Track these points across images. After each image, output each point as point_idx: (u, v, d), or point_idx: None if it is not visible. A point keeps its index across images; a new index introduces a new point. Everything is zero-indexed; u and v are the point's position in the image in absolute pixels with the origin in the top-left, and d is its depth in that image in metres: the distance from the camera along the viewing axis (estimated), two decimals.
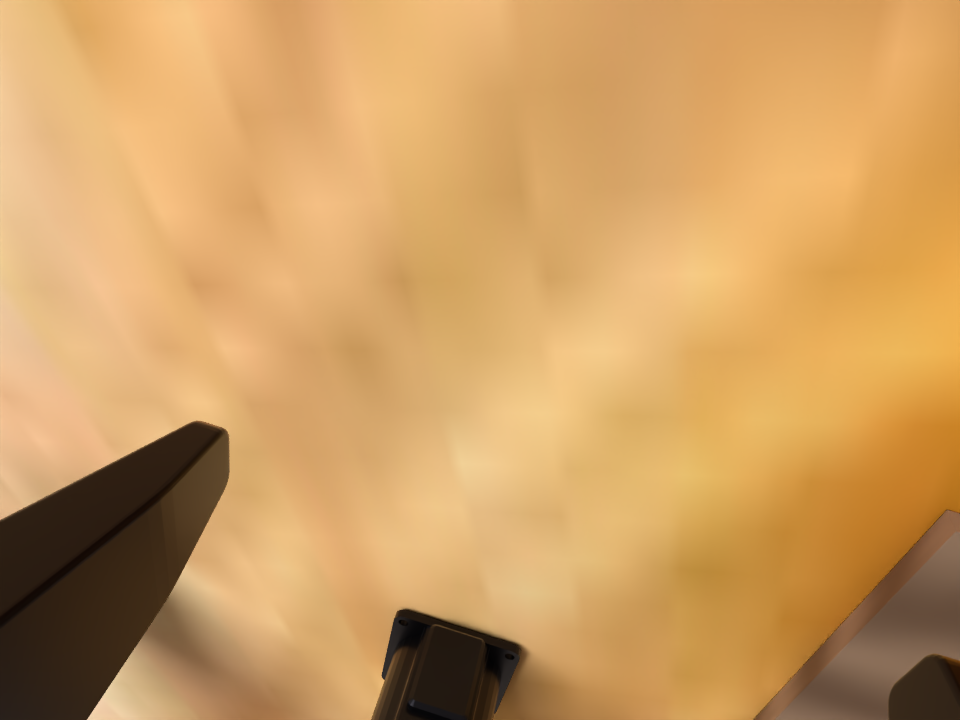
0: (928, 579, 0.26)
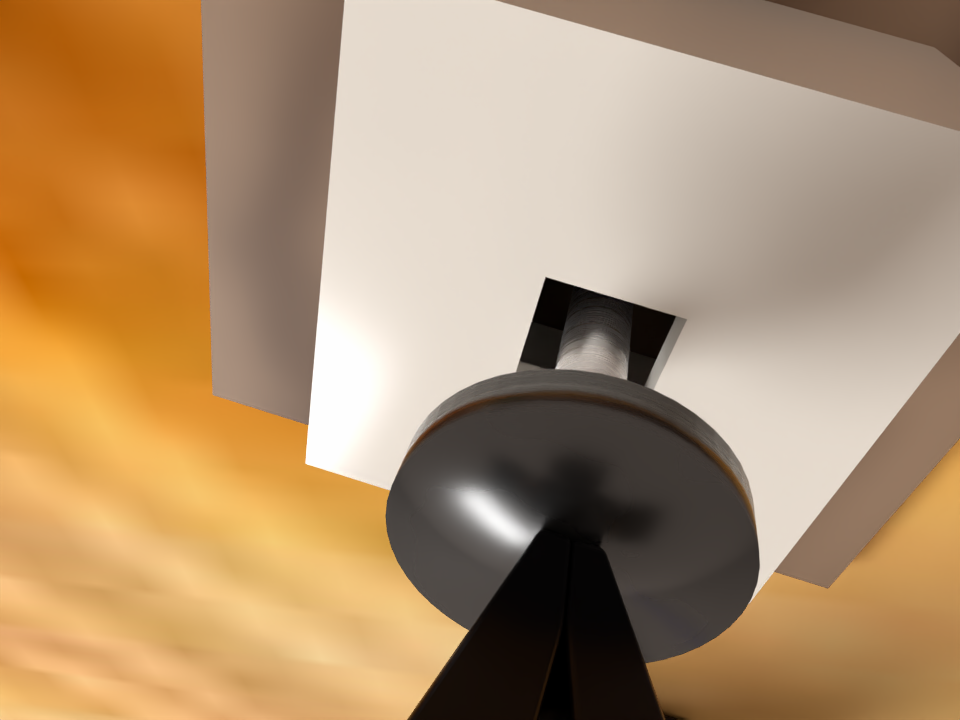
0: (281, 405, 0.25)
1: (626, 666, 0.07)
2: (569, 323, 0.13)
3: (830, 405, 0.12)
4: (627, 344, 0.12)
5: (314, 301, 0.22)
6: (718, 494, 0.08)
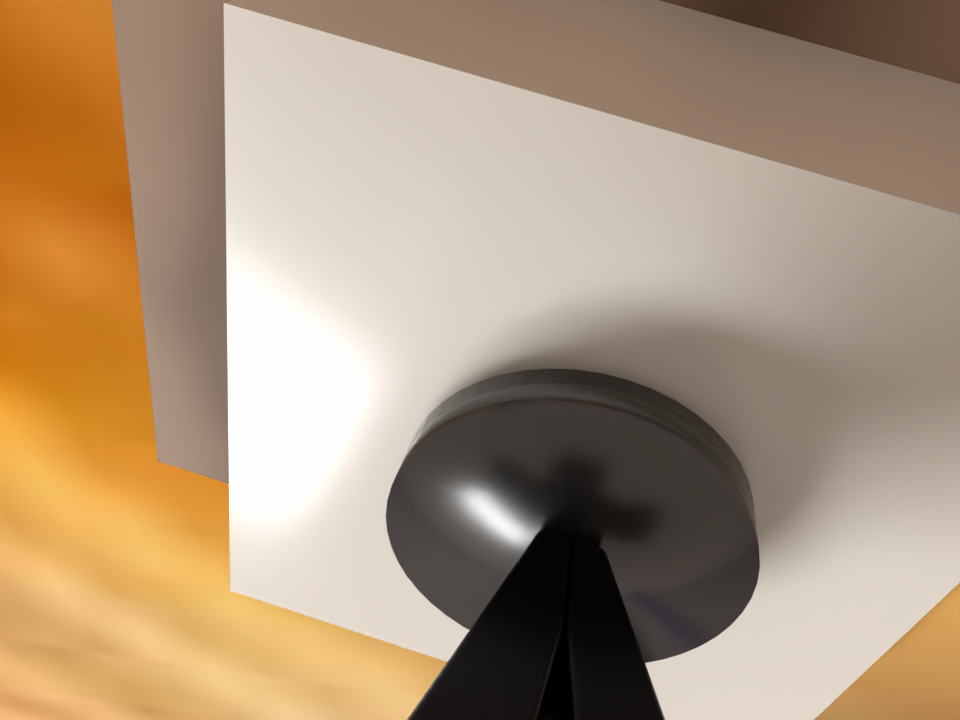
0: None
1: (626, 666, 0.07)
2: None
3: (875, 566, 0.09)
4: None
5: None
6: (718, 494, 0.08)
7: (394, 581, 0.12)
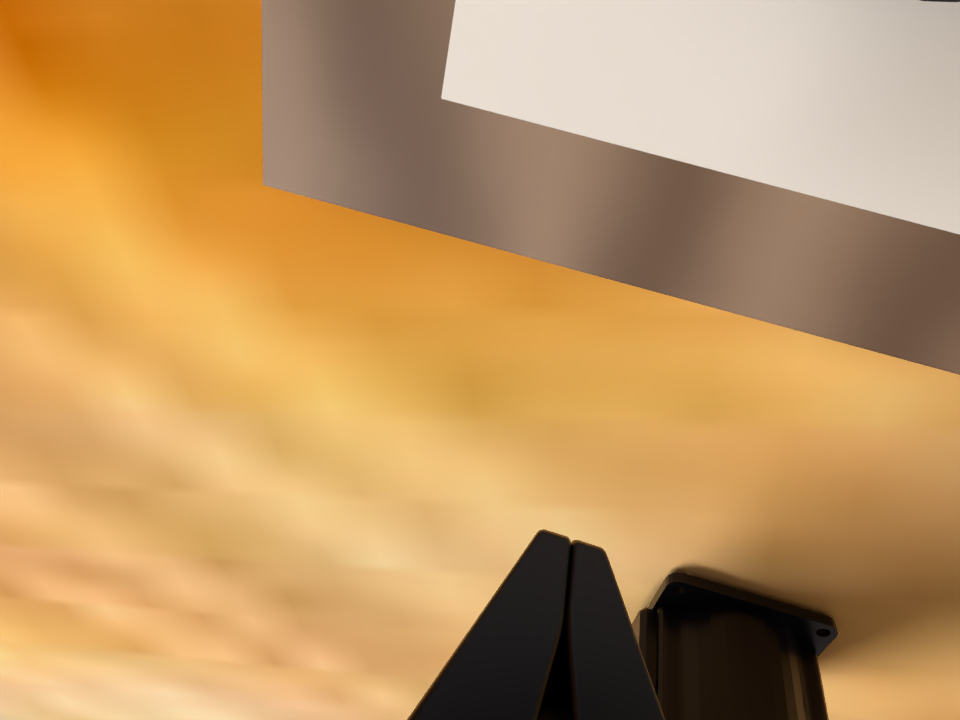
0: (351, 191, 0.19)
1: (626, 666, 0.07)
2: None
3: None
4: None
5: (402, 15, 0.16)
6: None
7: (677, 15, 0.09)
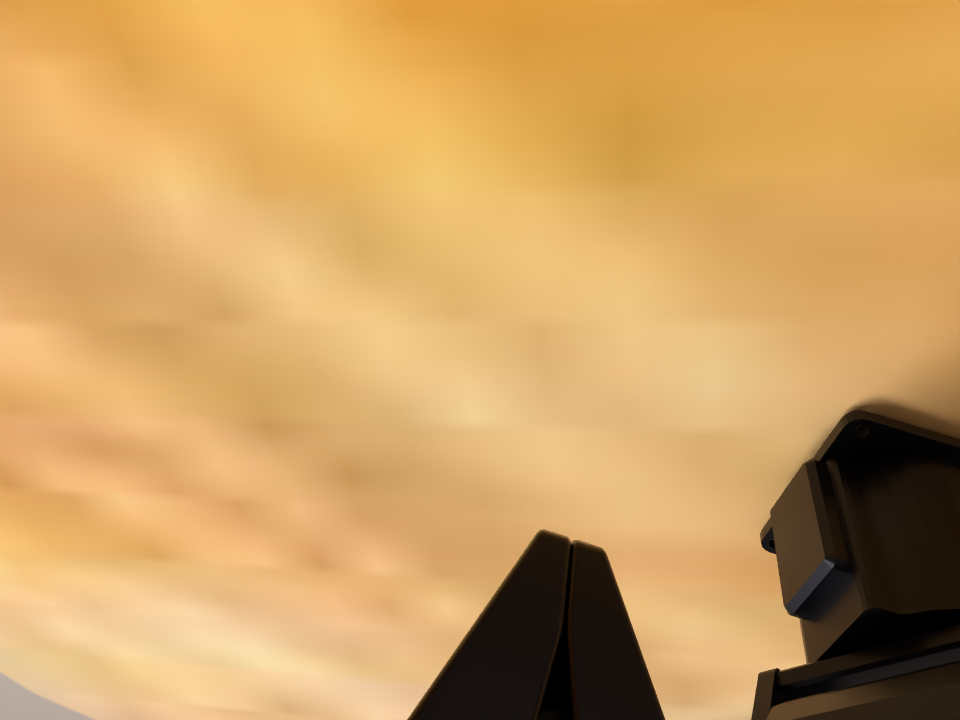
0: None
1: (626, 666, 0.07)
2: None
3: None
4: None
5: None
6: None
7: None
